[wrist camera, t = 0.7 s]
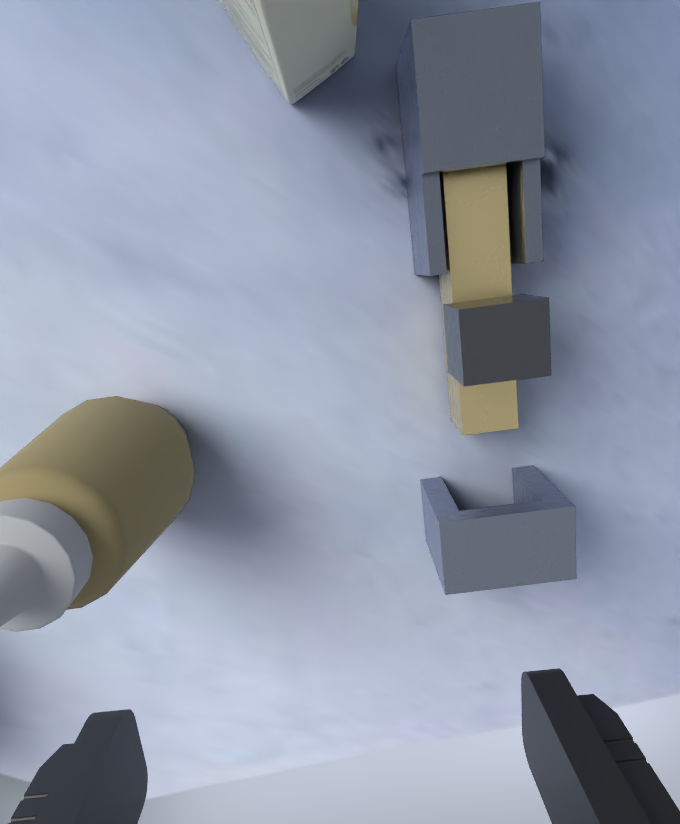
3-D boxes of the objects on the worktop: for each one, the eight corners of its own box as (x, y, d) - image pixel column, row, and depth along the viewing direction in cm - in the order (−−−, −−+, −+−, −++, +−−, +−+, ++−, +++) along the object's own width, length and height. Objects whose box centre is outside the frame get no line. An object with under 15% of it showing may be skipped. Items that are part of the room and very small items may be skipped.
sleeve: (395, 65, 29) (411, 19, 23) (500, 51, 28) (540, 1, 23) (414, 274, 31) (432, 276, 26) (510, 261, 31) (548, 260, 26)
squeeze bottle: (209, 385, 33) (72, 523, 15) (208, 512, 35) (87, 761, 17) (69, 377, 32) (-234, 508, 15) (77, 506, 34) (-181, 752, 17)
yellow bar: (413, 80, 28) (438, 26, 22) (492, 69, 28) (540, 12, 22) (442, 421, 33) (469, 458, 26) (510, 412, 33) (553, 447, 26)
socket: (420, 479, 34) (439, 523, 29) (533, 465, 34) (575, 506, 28) (426, 540, 35) (445, 594, 30) (535, 527, 35) (576, 578, 30)
